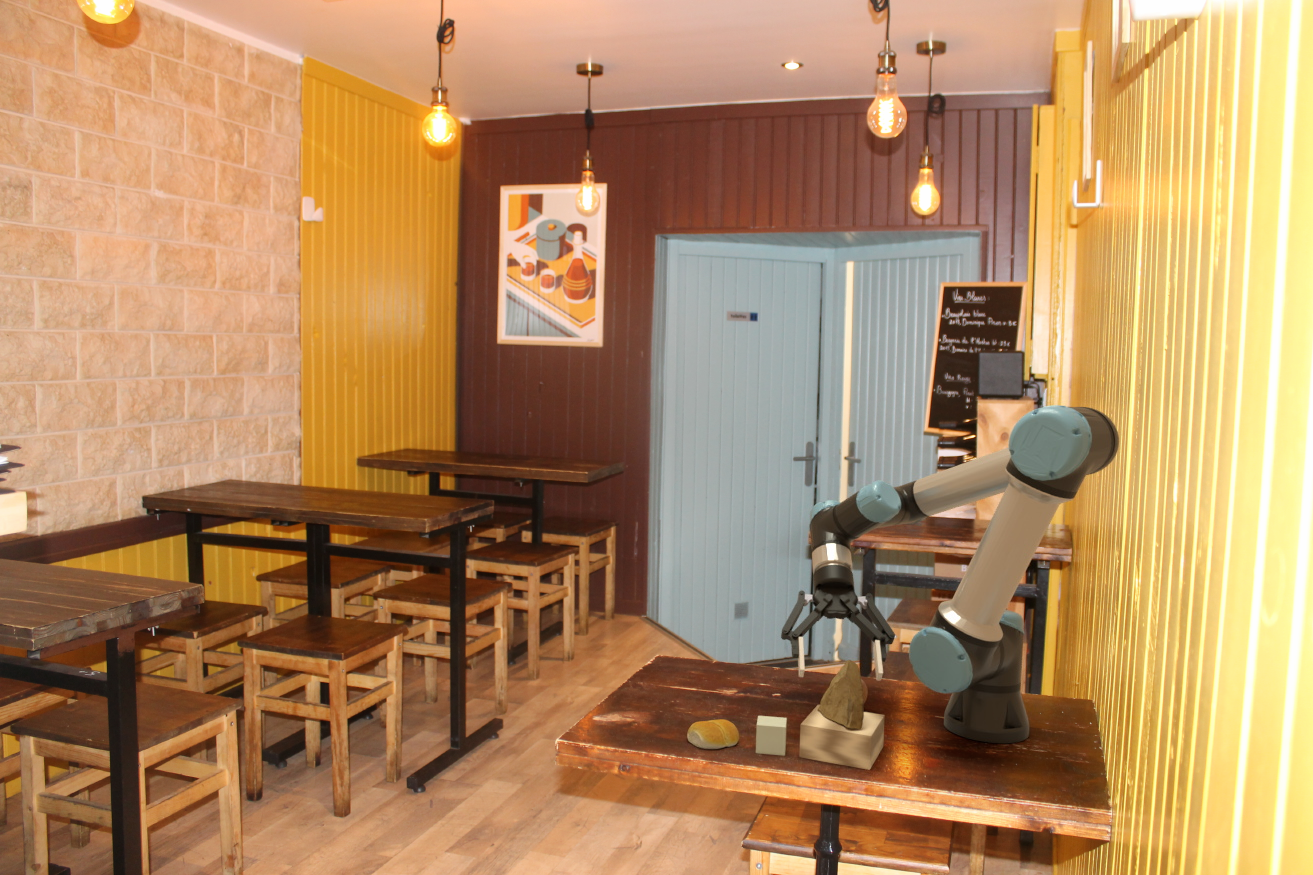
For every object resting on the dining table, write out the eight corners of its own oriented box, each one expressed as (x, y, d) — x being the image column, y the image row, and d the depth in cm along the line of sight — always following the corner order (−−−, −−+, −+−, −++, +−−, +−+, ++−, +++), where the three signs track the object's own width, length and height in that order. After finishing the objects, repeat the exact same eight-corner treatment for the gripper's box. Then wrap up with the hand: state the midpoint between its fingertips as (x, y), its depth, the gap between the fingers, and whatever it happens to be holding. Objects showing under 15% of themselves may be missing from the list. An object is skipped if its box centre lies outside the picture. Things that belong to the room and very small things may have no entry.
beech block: (883, 748, 172) (884, 714, 171) (869, 771, 161) (871, 735, 160) (816, 736, 176) (818, 704, 176) (799, 758, 165) (800, 724, 165)
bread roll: (747, 744, 171) (748, 722, 171) (706, 753, 166) (707, 730, 166) (719, 730, 178) (719, 709, 178) (679, 738, 173) (679, 716, 173)
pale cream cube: (785, 745, 171) (786, 717, 171) (784, 755, 166) (785, 727, 166) (757, 743, 172) (758, 715, 172) (755, 753, 167) (756, 724, 167)
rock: (879, 720, 161) (881, 695, 171) (849, 678, 161) (852, 655, 171) (825, 750, 164) (830, 724, 174) (796, 709, 164) (802, 685, 174)
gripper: (895, 587, 186) (908, 688, 172) (765, 582, 187) (767, 681, 173) (902, 565, 181) (916, 667, 167) (768, 559, 182) (770, 661, 168)
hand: (840, 675), depth 170 cm, fingers open, 13 cm apart
